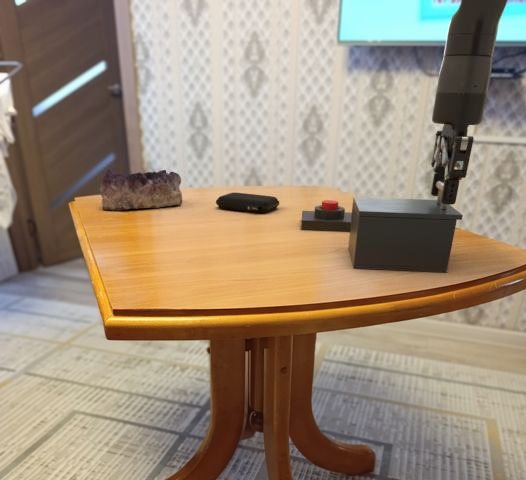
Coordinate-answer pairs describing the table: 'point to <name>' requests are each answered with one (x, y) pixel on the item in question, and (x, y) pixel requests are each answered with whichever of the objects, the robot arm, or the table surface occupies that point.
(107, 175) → the geode
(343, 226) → the button block
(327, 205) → the red button
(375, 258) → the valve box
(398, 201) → the hinged box lid
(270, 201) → the carrying case
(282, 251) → the table surface
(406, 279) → the table surface
